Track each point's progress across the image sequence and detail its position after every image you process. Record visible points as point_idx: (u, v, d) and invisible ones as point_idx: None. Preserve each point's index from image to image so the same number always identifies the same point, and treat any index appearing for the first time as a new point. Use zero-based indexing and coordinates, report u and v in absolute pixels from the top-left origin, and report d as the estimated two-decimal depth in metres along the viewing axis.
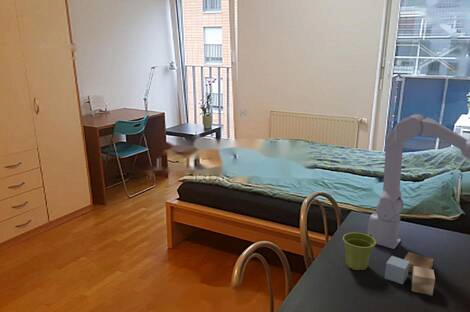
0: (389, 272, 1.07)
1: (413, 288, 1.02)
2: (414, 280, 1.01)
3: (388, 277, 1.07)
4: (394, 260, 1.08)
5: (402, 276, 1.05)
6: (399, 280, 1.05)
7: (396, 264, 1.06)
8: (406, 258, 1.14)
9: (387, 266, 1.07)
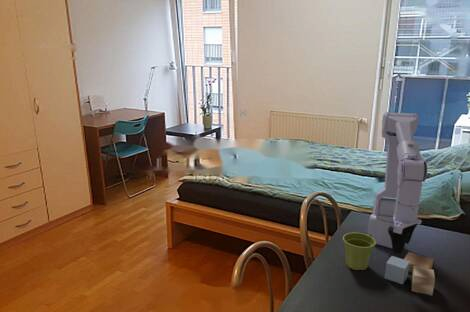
0: (389, 272, 1.07)
1: (413, 288, 1.02)
2: (414, 280, 1.01)
3: (388, 277, 1.07)
4: (394, 260, 1.08)
5: (402, 276, 1.05)
6: (399, 280, 1.05)
7: (396, 264, 1.06)
8: (406, 258, 1.14)
9: (387, 266, 1.07)
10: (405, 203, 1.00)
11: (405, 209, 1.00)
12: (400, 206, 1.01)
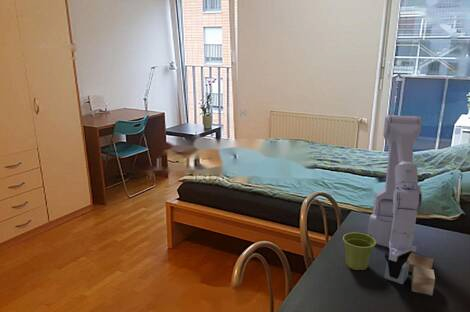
0: None
1: (413, 288, 1.02)
2: (414, 280, 1.01)
3: (388, 277, 1.07)
4: None
5: (402, 276, 1.05)
6: (399, 280, 1.05)
7: None
8: None
9: (387, 266, 1.07)
10: (400, 231, 1.02)
11: (400, 236, 1.02)
12: (395, 233, 1.03)
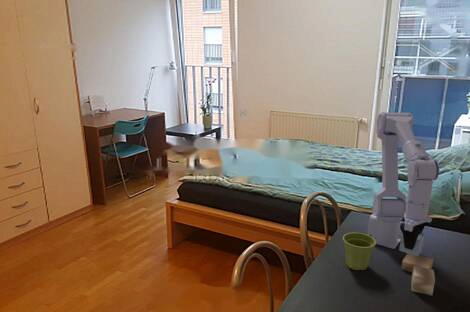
0: None
1: (413, 288, 1.02)
2: (414, 280, 1.01)
3: (403, 249, 1.08)
4: None
5: (417, 247, 1.05)
6: (414, 252, 1.06)
7: None
8: (406, 258, 1.14)
9: (402, 238, 1.08)
10: (418, 202, 1.03)
11: (416, 207, 1.03)
12: (411, 204, 1.04)
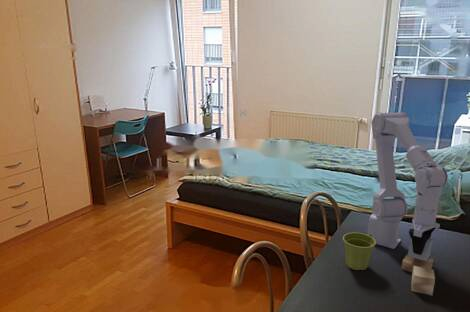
0: None
1: (413, 288, 1.02)
2: (414, 280, 1.01)
3: (412, 254, 1.11)
4: None
5: (426, 252, 1.08)
6: (423, 257, 1.09)
7: None
8: (406, 258, 1.14)
9: (411, 243, 1.10)
10: (429, 208, 1.05)
11: (424, 213, 1.06)
12: (419, 211, 1.07)
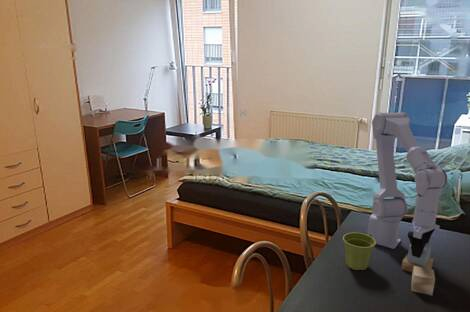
0: None
1: (413, 288, 1.02)
2: (414, 280, 1.01)
3: (411, 259, 1.11)
4: None
5: (425, 258, 1.09)
6: (422, 262, 1.10)
7: None
8: (406, 258, 1.14)
9: (410, 249, 1.11)
10: (429, 210, 1.05)
11: (424, 215, 1.06)
12: (419, 212, 1.07)
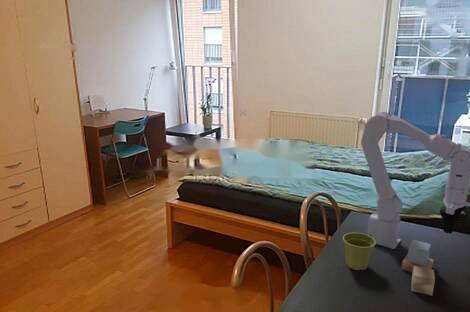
0: (412, 255, 1.11)
1: (413, 288, 1.02)
2: (414, 280, 1.01)
3: (411, 260, 1.11)
4: (416, 243, 1.12)
5: (425, 258, 1.09)
6: (422, 262, 1.10)
7: (419, 247, 1.10)
8: (406, 258, 1.14)
9: (410, 249, 1.11)
10: (467, 187, 1.11)
11: (456, 192, 1.12)
12: (451, 190, 1.12)
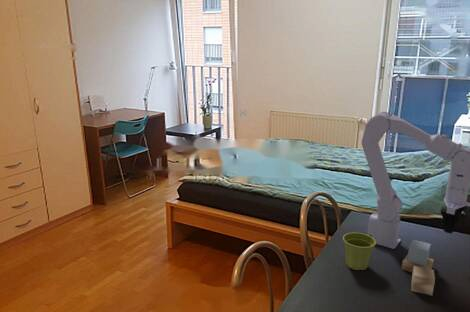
0: (412, 255, 1.11)
1: (413, 288, 1.02)
2: (414, 280, 1.01)
3: (411, 260, 1.11)
4: (416, 243, 1.12)
5: (425, 258, 1.09)
6: (422, 262, 1.10)
7: (419, 247, 1.10)
8: (406, 258, 1.14)
9: (410, 249, 1.11)
10: (468, 187, 1.11)
11: (456, 192, 1.12)
12: (452, 190, 1.13)
